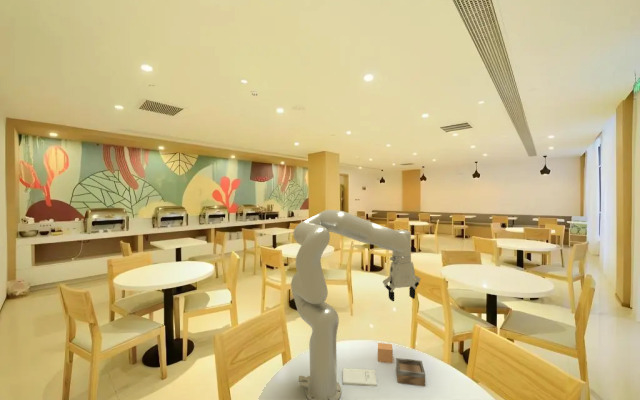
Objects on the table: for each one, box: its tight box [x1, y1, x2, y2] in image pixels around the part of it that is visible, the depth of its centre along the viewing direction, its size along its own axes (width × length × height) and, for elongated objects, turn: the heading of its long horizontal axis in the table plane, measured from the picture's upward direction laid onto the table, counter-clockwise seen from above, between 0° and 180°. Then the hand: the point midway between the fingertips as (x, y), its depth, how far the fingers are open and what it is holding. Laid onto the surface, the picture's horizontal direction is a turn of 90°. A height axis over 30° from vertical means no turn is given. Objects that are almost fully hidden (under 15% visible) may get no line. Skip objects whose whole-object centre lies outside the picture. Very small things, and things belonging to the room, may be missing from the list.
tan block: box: [377, 342, 394, 364], centre depth 116 cm, size 6×4×6 cm
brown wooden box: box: [395, 357, 426, 387], centre depth 104 cm, size 10×8×4 cm
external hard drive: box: [342, 367, 378, 387], centre depth 104 cm, size 2×8×12 cm
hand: (402, 298), depth 117 cm, fingers open, 9 cm apart
